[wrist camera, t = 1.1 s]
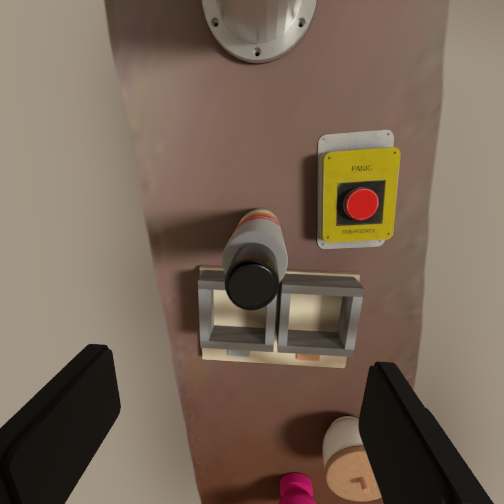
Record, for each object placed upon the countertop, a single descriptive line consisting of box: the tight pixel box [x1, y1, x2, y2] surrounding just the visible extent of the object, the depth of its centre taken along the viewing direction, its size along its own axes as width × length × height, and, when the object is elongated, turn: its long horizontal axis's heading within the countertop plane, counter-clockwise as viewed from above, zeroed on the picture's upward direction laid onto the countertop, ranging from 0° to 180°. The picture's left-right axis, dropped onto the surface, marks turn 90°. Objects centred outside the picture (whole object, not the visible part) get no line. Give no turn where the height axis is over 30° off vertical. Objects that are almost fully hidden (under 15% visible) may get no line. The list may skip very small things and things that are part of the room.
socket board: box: [198, 265, 364, 368], centre depth 38 cm, size 16×23×5 cm
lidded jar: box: [323, 416, 382, 501], centre depth 41 cm, size 11×11×9 cm
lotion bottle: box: [222, 208, 288, 311], centre depth 26 cm, size 6×6×20 cm
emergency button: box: [317, 130, 400, 249], centre depth 32 cm, size 9×4×15 cm
